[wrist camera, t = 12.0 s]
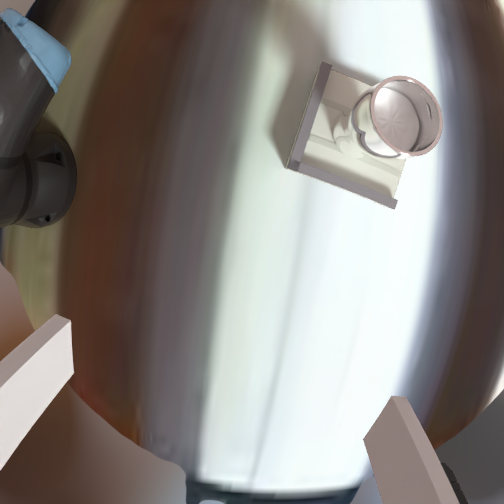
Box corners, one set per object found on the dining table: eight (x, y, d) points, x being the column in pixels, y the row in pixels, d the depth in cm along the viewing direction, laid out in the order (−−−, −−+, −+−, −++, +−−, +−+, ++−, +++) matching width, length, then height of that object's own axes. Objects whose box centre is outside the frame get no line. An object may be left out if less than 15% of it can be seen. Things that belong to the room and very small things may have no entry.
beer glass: (390, 125, 34) (454, 105, 19) (369, 172, 36) (427, 175, 21) (343, 97, 33) (386, 57, 19) (319, 144, 35) (353, 128, 21)
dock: (285, 168, 39) (287, 168, 35) (316, 72, 35) (322, 61, 31) (382, 205, 39) (394, 209, 35) (410, 113, 36) (424, 107, 32)
